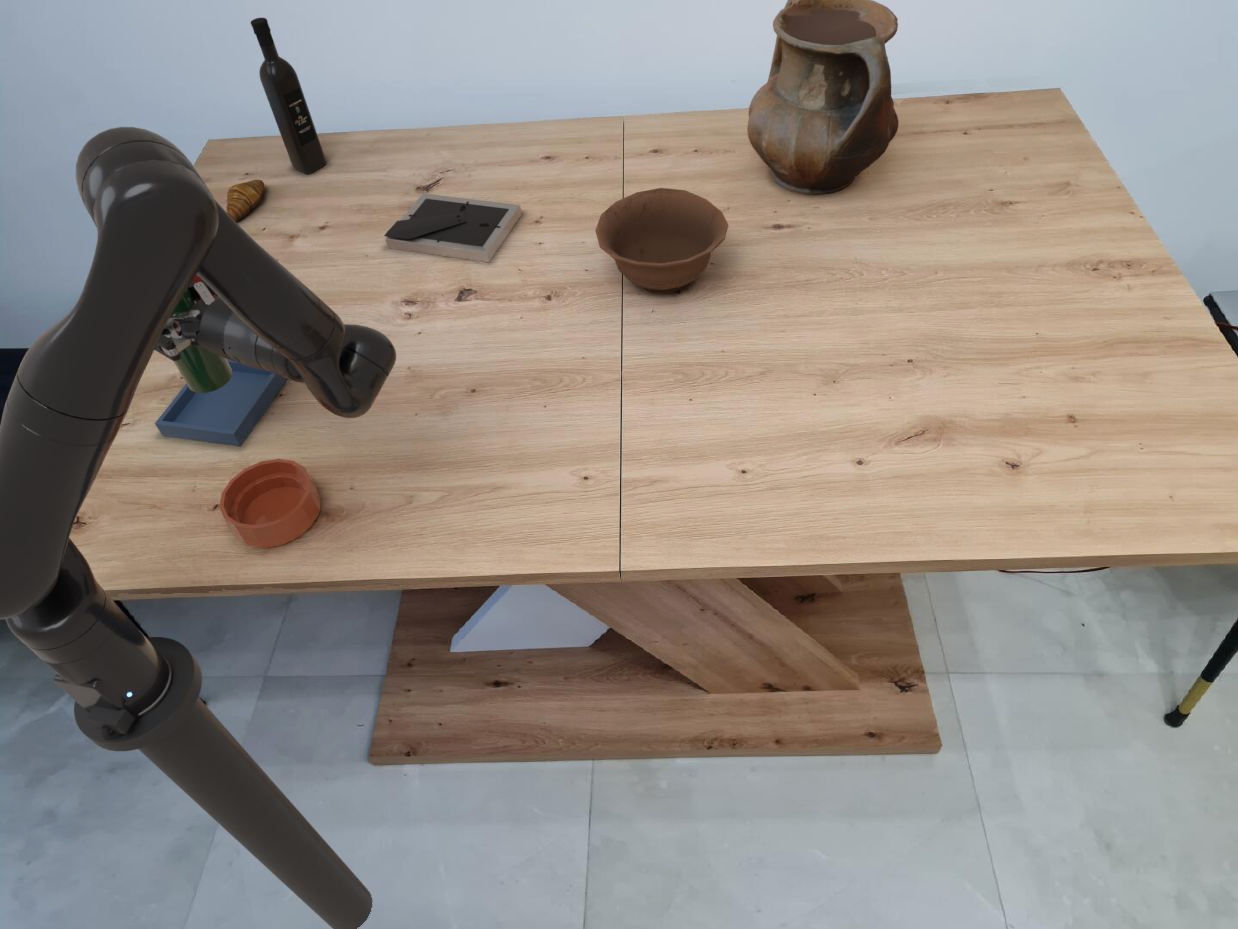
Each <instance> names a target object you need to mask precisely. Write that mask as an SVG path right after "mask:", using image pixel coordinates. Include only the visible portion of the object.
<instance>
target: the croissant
mask: <svg viewBox="0 0 1238 929" xmlns="http://www.w3.org/2000/svg"><path fill="white" fill-rule="evenodd" d="M264 194H265V183H264V181H263V180H262V179H253V180H249V181H246V182H240V183H238V184H237V183H236V184H233V185H232V186H231V187H229V188H228V191H227V193H226V212H227V213H228V214H229V216H230V217H231V218H232V219H233V220H234V221H235V222H236V223H238V222H239V221H241V220H243V219H244V218H245V217H246V216H248V215H249V214H250V212H252V211H253V210H254V209H255V208H257V207H258V206H259V204H260V202H261V200H262V197H263V196H264Z"/></svg>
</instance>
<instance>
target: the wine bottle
mask: <svg viewBox="0 0 1238 929" xmlns="http://www.w3.org/2000/svg"><path fill="white" fill-rule="evenodd" d="M250 26H251V27H252V30H253V33H254V35H255V36H256V39H257V42H258V46H259V47H260V50H261V54H262V57H263V58H264V60H263V62H262V63H261V65H260V67H259V80H260V82H261V85H262V88H263V90H264V93H265V96H266V99H267V101H268V104H269V107H270V110H271V112H272V115H273V118H274V120H275V123H276V125H277V128H278V131H279V134H280V136H281V140H282V142H283V144H284V147H285V149H286V152H287V156H288V158H289V160H290V163H291V166H292V169H294V170H296V171H299V172H301V173H302V174H305V175H310V174H312V173H314V172H316V171H317V170H319V169H321V168H322V167H325V166H326V165H327V159H326V157H325V153H324V150H323V147H322V144H321V141H320V138H319V135H318V133H317V129H316V126H315V124H314V122H313V118H312V115H311V111H310V109H309V106H308V103H307V100H306V98H305V94H304V91H303V88H302V86H301V82H300V79H299V77H298V74H297V72H296V70H295V69H294V66H292V64H290V62H289V61H287V60H286V59H284V58H283V57H281V56H280V55H279V53H278V50H277V47H276V43H275V41H274V38H273V36H272V31H271V27H270V25H269V22H268V19H267V18H266V17H256V18H254V19H252V20H251V21H250Z"/></svg>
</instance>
